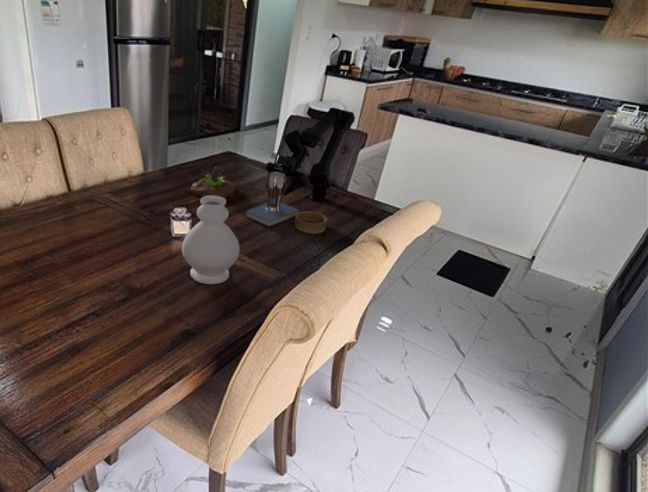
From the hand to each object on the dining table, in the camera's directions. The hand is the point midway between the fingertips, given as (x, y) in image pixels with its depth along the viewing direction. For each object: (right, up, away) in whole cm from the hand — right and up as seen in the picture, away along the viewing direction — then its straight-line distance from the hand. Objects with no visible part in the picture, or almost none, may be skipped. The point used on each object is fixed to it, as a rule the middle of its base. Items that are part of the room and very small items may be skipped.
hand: (275, 191), depth 184 cm
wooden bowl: (+14, -14, -1) cm, 20 cm away
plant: (-25, +6, +26) cm, 37 cm away
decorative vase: (-25, -35, -37) cm, 57 cm away
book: (-1, -9, +6) cm, 10 cm away
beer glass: (0, -7, +5) cm, 8 cm away
